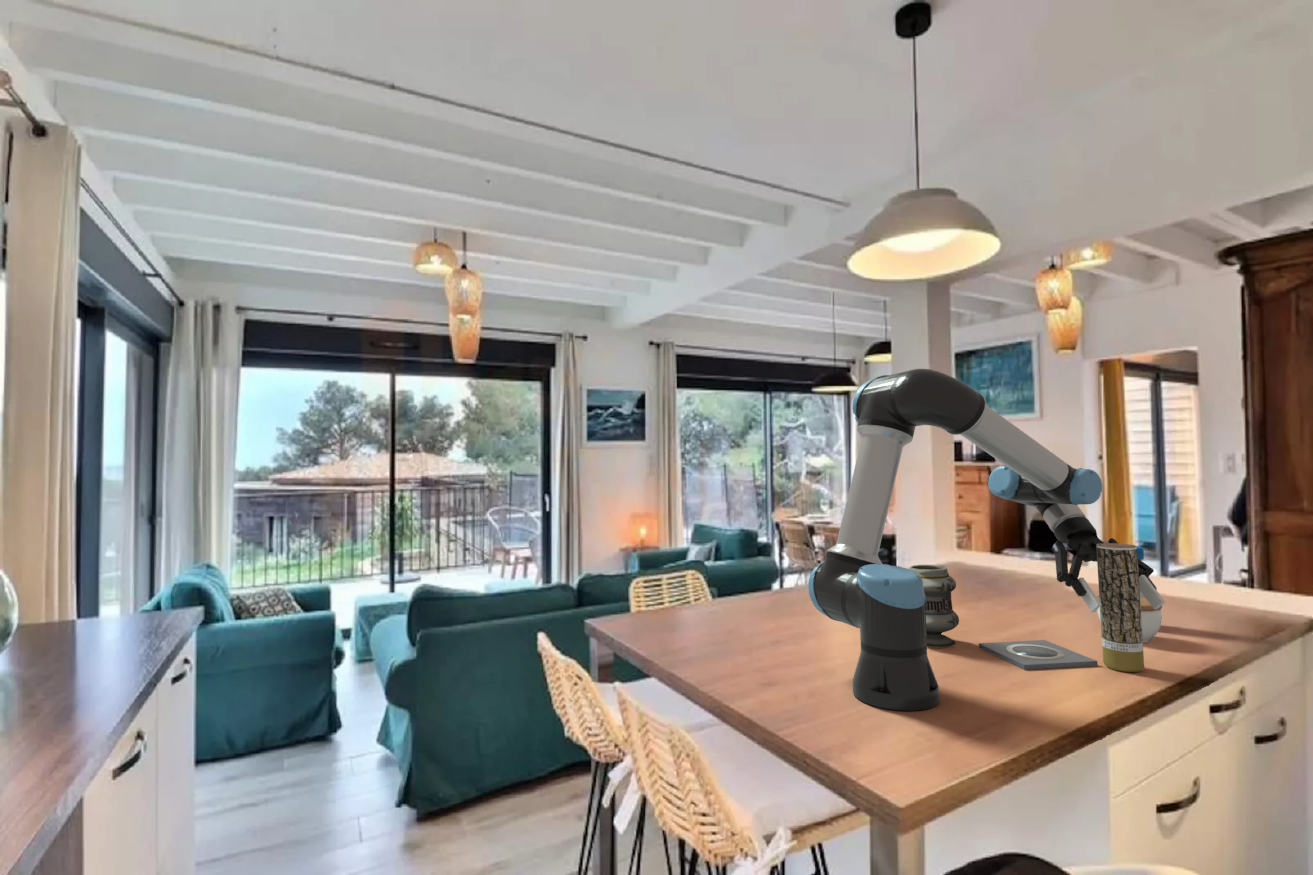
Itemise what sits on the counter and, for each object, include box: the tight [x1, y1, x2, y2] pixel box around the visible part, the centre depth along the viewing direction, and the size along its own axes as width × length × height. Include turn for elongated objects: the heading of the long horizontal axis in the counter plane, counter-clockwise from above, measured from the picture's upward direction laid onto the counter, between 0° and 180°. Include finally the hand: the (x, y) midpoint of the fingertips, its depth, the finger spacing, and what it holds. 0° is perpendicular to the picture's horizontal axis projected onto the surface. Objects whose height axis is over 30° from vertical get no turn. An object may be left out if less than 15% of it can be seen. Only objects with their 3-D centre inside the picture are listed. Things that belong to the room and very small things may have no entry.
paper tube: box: [1096, 542, 1145, 673], centre depth 129 cm, size 7×7×25 cm
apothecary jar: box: [908, 564, 960, 649], centre depth 151 cm, size 12×12×18 cm
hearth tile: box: [978, 639, 1098, 671], centre depth 138 cm, size 16×16×1 cm
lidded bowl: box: [1096, 595, 1163, 644], centre depth 149 cm, size 13×13×11 cm
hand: (1128, 607), depth 127 cm, fingers open, 13 cm apart
